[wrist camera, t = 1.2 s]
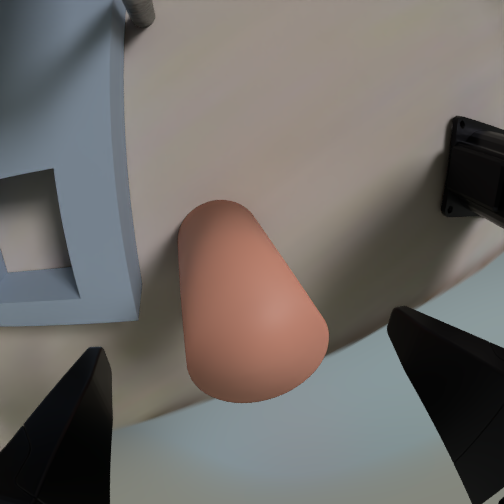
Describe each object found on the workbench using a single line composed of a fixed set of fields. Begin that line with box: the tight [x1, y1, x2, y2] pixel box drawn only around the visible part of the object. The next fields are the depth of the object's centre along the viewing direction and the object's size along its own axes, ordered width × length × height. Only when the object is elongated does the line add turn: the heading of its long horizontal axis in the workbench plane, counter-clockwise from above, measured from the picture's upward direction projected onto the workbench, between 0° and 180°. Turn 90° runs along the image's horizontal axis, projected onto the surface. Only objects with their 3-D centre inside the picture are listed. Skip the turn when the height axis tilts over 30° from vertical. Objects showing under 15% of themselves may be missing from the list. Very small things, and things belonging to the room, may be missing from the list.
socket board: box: [0, 0, 142, 326], centre depth 9 cm, size 10×18×3 cm, turn 179°
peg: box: [178, 200, 329, 403], centre depth 12 cm, size 4×4×8 cm
